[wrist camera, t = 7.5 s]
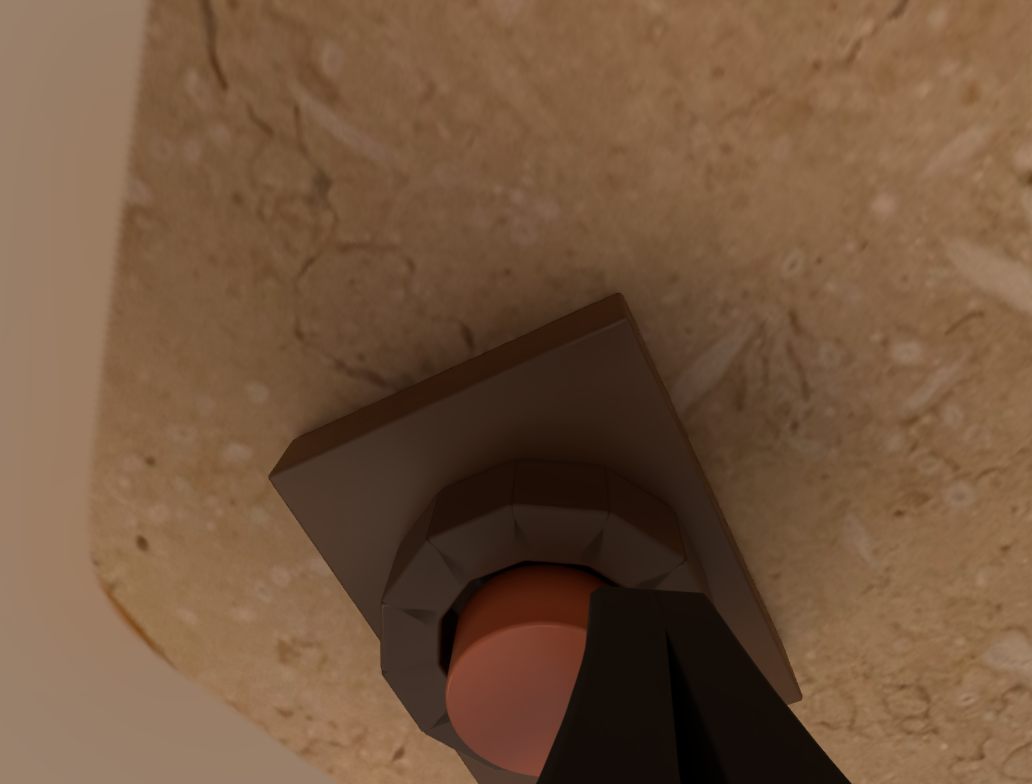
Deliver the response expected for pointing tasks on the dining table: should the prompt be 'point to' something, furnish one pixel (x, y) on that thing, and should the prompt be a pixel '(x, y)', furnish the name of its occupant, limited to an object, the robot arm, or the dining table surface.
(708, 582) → the button block
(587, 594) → the button
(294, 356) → the dining table surface
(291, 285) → the dining table surface
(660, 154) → the dining table surface
